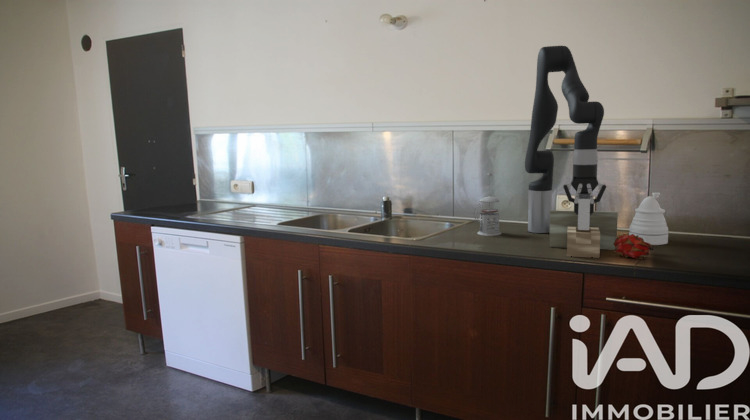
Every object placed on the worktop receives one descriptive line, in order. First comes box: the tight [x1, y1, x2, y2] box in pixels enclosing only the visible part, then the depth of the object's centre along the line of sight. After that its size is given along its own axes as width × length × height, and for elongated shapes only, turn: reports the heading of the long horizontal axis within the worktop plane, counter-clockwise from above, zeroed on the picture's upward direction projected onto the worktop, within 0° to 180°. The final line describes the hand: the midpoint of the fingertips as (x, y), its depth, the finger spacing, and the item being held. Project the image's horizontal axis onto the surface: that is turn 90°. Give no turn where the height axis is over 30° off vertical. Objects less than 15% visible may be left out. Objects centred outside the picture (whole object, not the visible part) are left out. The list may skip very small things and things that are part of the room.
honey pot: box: [628, 192, 669, 246], centre depth 199 cm, size 13×13×18 cm
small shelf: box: [548, 210, 619, 259], centre depth 184 cm, size 16×22×13 cm
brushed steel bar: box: [578, 193, 590, 230], centre depth 181 cm, size 7×4×12 cm, turn 160°
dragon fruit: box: [613, 233, 654, 260], centre depth 175 cm, size 8×8×12 cm
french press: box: [473, 172, 502, 237], centre depth 221 cm, size 10×12×25 cm
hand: (583, 214), depth 182 cm, fingers closed on brushed steel bar, 3 cm apart
